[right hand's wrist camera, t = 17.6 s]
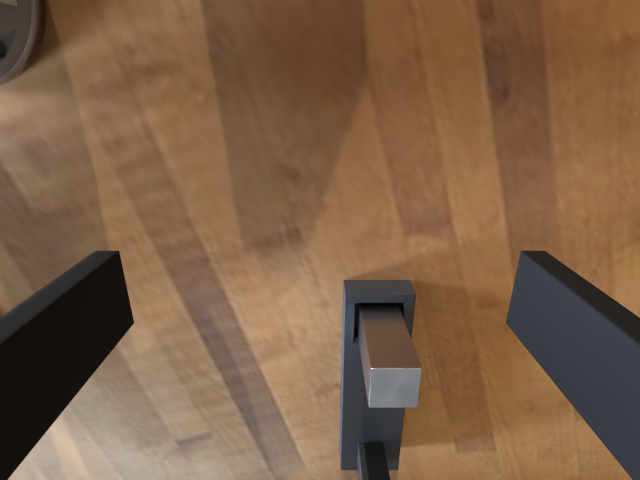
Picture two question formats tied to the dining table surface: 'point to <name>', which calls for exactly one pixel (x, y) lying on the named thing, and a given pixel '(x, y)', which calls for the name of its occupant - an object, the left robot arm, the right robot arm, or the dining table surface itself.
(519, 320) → the right robot arm
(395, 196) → the dining table surface
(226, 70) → the dining table surface
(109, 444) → the dining table surface
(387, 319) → the peg
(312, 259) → the dining table surface
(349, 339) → the peg board
